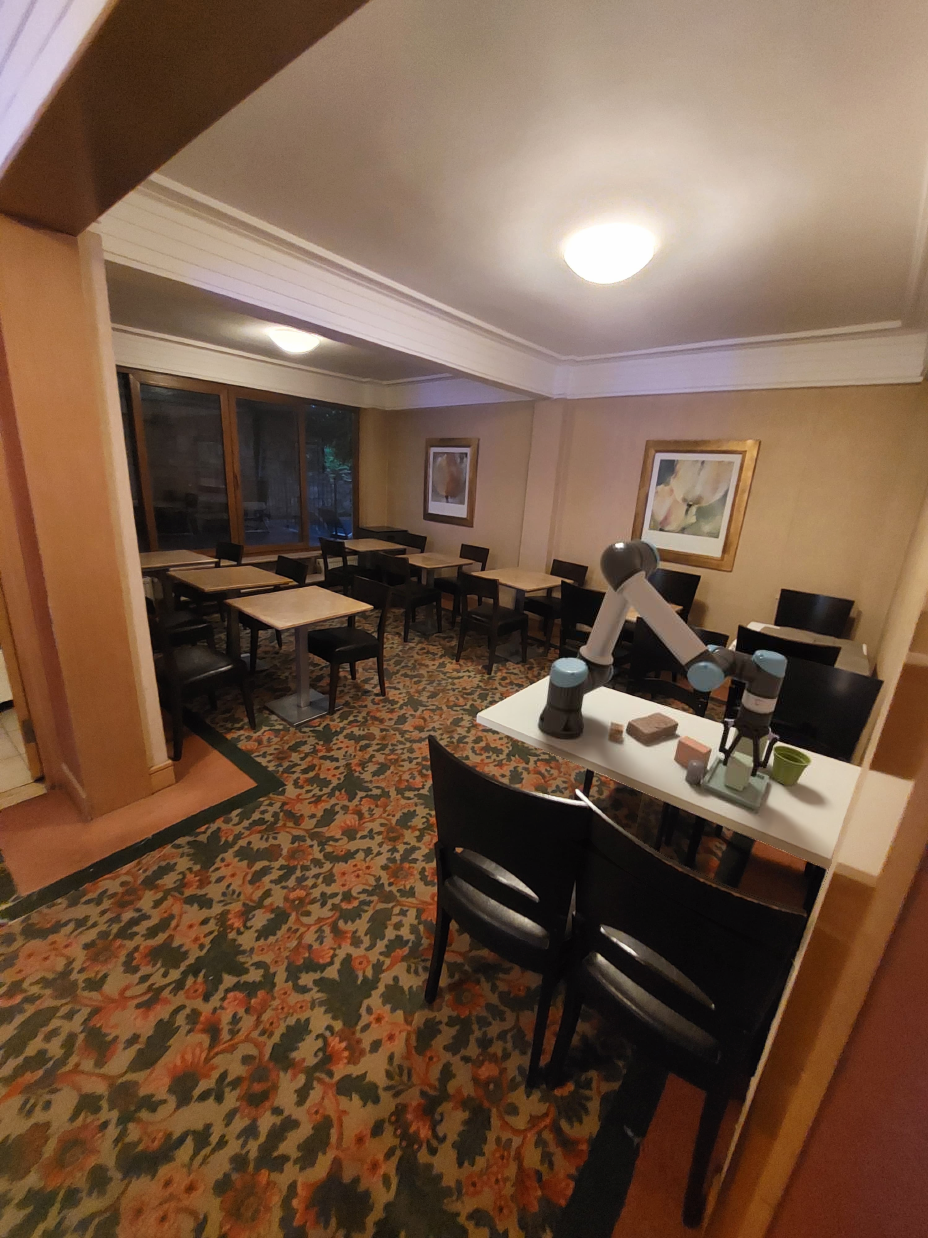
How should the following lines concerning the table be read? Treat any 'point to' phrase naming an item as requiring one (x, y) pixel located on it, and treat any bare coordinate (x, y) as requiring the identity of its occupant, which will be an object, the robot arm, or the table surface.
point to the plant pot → (788, 764)
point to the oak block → (616, 731)
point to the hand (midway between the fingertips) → (735, 780)
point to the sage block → (738, 771)
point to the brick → (651, 727)
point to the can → (749, 745)
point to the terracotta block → (692, 751)
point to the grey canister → (694, 772)
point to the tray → (746, 798)
